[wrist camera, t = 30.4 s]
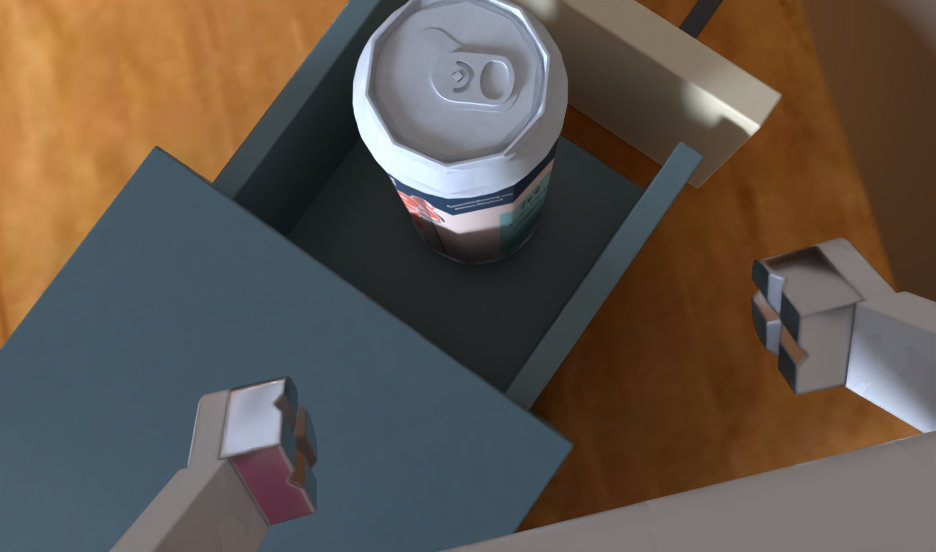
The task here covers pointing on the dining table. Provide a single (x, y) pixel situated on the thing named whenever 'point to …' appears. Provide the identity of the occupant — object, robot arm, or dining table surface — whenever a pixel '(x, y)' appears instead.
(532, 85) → the beer can
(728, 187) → the dining table surface
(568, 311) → the drawer
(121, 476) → the cabinet
